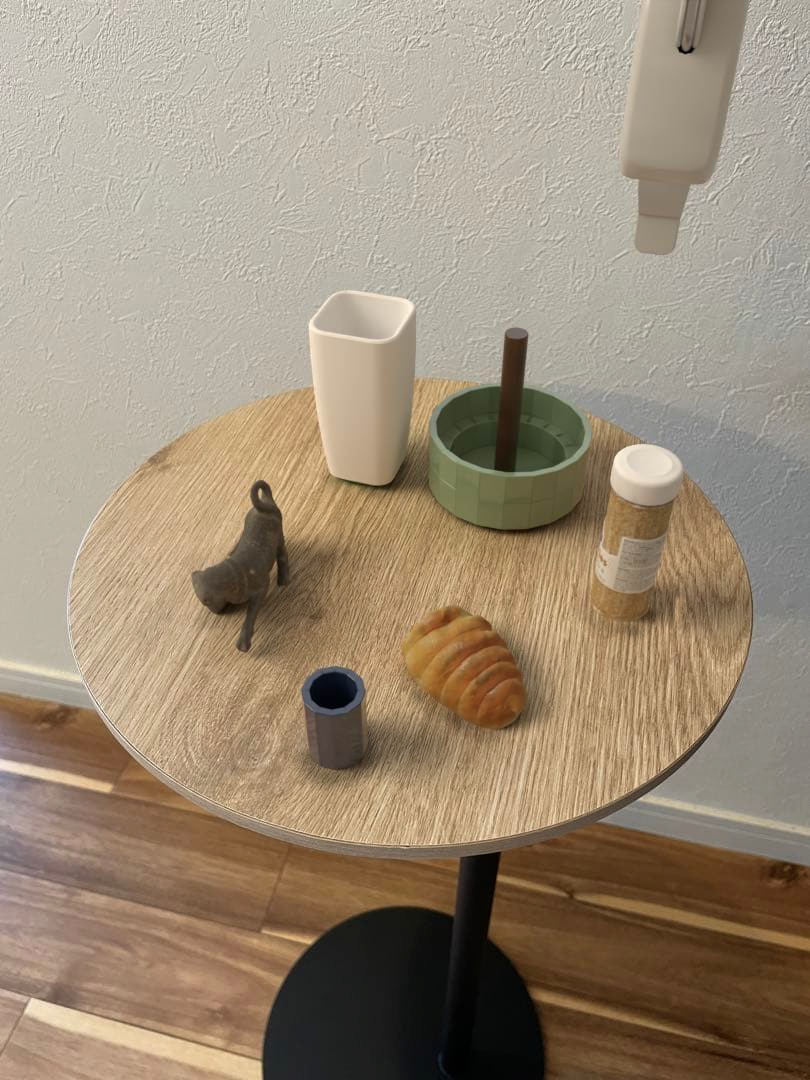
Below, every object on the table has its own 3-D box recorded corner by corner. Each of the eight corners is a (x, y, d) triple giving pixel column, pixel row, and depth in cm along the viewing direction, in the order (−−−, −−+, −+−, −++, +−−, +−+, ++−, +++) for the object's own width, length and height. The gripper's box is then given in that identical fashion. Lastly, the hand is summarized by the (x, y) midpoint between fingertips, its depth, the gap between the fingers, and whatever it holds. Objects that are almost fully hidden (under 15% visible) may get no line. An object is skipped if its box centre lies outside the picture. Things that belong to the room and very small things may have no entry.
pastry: (551, 706, 65) (556, 669, 63) (471, 754, 62) (473, 717, 60) (466, 622, 71) (468, 585, 68) (389, 662, 68) (388, 625, 65)
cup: (394, 501, 81) (392, 345, 71) (313, 484, 83) (301, 329, 73) (420, 451, 86) (421, 300, 77) (343, 436, 88) (335, 286, 78)
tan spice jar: (586, 582, 74) (611, 439, 65) (646, 586, 74) (680, 443, 65) (589, 626, 71) (616, 481, 62) (652, 630, 70) (689, 485, 61)
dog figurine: (238, 542, 77) (227, 468, 72) (307, 553, 76) (300, 479, 71) (176, 651, 69) (159, 575, 64) (253, 666, 68) (241, 590, 63)
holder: (374, 733, 63) (372, 673, 59) (356, 780, 61) (353, 721, 57) (319, 720, 64) (314, 660, 60) (299, 767, 61) (292, 707, 57)
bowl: (592, 452, 86) (601, 395, 82) (570, 548, 77) (579, 489, 73) (448, 429, 89) (450, 372, 85) (410, 518, 80) (410, 460, 76)
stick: (516, 474, 83) (530, 328, 74) (512, 486, 82) (526, 340, 72) (495, 470, 83) (507, 325, 74) (491, 483, 82) (502, 337, 73)
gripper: (816, -93, 30) (721, 316, 39) (801, -170, 44) (735, 140, 53) (608, -101, 31) (564, 296, 40) (661, -173, 46) (620, 130, 55)
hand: (662, 206), depth 47 cm, fingers open, 8 cm apart
